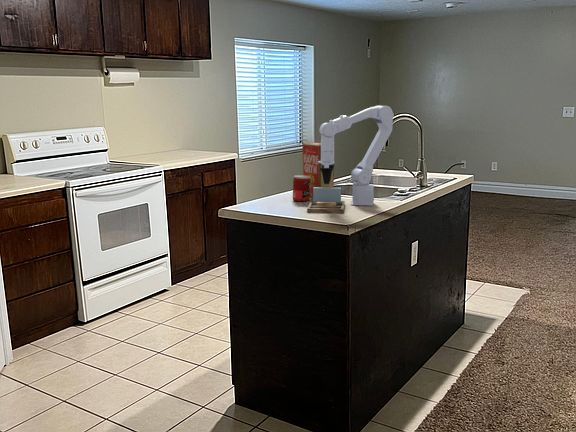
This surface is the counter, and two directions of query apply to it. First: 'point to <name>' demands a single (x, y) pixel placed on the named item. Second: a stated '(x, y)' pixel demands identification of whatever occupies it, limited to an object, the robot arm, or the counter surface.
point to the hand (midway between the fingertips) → (327, 182)
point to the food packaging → (314, 166)
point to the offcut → (326, 203)
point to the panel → (326, 194)
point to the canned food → (301, 188)
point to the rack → (326, 208)
